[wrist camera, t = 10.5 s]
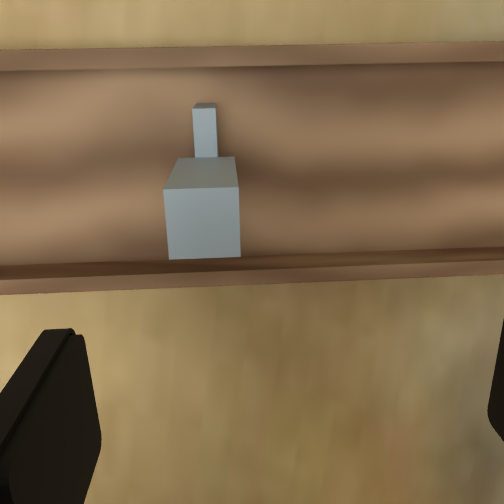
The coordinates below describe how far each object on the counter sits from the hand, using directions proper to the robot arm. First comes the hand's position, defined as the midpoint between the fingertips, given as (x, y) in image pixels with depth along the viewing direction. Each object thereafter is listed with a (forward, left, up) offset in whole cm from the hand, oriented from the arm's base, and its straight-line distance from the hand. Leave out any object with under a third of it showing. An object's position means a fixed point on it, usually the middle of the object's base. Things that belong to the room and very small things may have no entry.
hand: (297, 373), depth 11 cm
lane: (0, +3, -22) cm, 23 cm away
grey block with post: (0, +2, -21) cm, 21 cm away
